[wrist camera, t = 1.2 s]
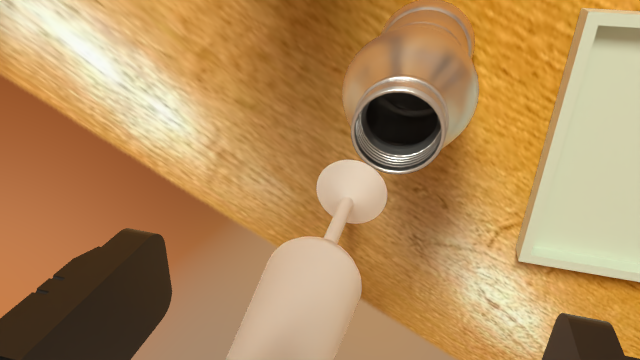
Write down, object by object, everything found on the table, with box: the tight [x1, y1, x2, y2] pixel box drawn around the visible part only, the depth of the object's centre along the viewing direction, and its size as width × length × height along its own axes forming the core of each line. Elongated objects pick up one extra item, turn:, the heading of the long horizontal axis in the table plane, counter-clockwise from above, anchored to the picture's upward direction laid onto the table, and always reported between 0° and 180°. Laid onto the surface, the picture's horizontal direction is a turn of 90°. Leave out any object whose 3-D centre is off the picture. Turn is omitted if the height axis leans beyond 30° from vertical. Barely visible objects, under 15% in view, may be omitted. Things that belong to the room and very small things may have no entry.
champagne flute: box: [226, 160, 387, 360], centre depth 32 cm, size 7×7×24 cm
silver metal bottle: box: [342, 0, 479, 174], centre depth 26 cm, size 6×7×20 cm
